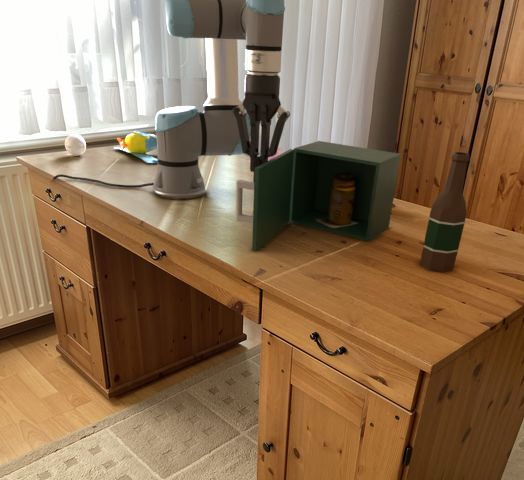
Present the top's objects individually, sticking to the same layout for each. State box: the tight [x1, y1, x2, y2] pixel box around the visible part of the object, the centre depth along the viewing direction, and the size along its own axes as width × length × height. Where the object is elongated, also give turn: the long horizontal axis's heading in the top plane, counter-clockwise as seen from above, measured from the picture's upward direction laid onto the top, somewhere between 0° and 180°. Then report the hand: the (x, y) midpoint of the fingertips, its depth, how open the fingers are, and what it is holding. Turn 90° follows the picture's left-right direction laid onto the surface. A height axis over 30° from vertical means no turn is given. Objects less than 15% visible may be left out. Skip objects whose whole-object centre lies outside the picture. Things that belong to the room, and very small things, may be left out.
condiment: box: [316, 173, 358, 228], centre depth 138 cm, size 7×8×12 cm
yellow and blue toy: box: [113, 131, 158, 165], centre depth 199 cm, size 28×9×15 cm
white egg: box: [64, 133, 87, 157], centre depth 194 cm, size 10×7×7 cm
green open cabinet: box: [289, 140, 402, 242], centre depth 137 cm, size 13×23×19 cm, turn 57°
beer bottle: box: [419, 151, 470, 273], centre depth 114 cm, size 8×8×24 cm
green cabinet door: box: [235, 148, 294, 252], centre depth 128 cm, size 6×23×18 cm, turn 158°
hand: (258, 186), depth 126 cm, fingers closed
